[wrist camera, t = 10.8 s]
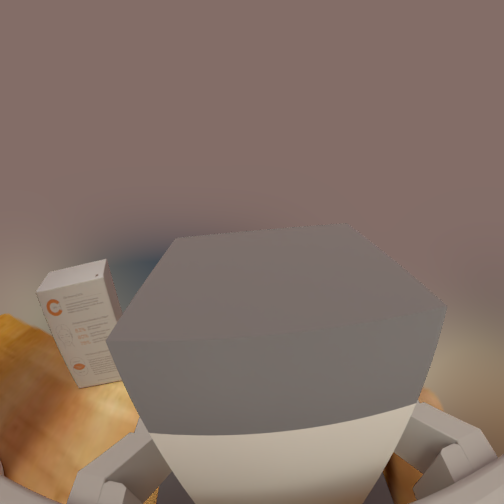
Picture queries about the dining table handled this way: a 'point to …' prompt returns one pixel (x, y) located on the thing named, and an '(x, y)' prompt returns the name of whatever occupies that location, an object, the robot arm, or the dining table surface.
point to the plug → (277, 362)
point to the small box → (82, 319)
